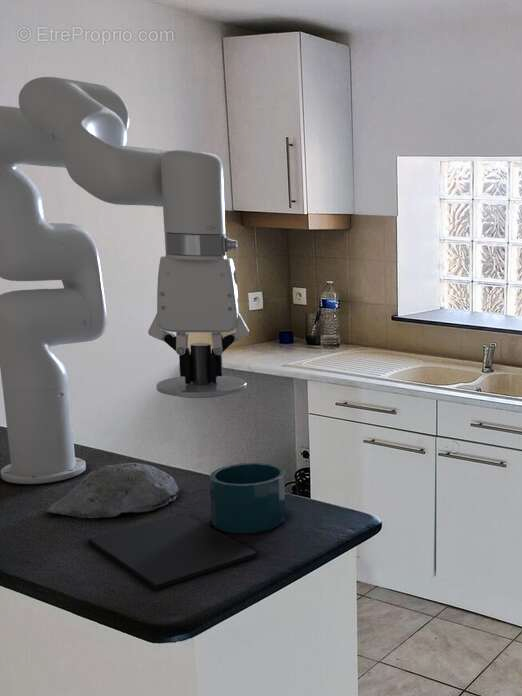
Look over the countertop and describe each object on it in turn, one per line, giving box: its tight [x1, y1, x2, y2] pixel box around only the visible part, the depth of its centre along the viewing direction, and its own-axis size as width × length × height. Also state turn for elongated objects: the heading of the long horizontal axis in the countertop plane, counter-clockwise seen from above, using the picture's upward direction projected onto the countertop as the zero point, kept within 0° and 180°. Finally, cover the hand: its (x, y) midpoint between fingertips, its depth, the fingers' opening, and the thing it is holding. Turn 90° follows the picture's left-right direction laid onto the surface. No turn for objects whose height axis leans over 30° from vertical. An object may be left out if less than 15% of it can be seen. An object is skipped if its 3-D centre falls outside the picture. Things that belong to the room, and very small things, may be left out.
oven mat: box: [88, 513, 258, 590], centre depth 111 cm, size 20×14×1 cm
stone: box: [46, 462, 181, 519], centre depth 127 cm, size 18×8×15 cm
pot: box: [209, 462, 287, 534], centre depth 121 cm, size 11×11×8 cm
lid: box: [155, 342, 248, 399], centre depth 110 cm, size 12×12×7 cm
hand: (201, 380), depth 111 cm, fingers closed on lid, 2 cm apart
